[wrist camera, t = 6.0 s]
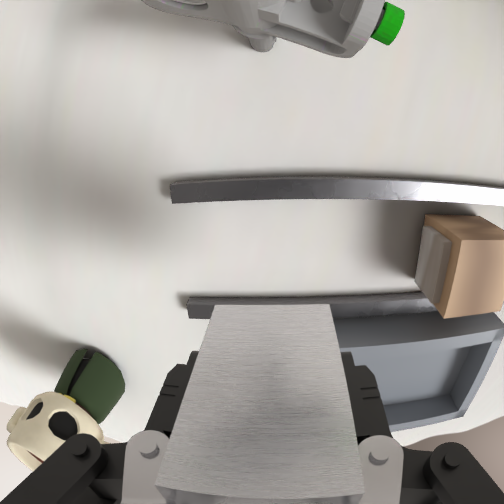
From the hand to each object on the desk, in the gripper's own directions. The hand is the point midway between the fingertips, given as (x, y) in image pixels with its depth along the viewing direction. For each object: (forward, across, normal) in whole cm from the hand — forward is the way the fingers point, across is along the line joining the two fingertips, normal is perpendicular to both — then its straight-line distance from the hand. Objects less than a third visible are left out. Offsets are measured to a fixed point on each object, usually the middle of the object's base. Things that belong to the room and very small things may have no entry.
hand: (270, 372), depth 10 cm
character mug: (+11, +17, +12) cm, 24 cm away
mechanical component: (+11, 0, -14) cm, 18 cm away
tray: (+11, -10, +11) cm, 18 cm away
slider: (+11, -13, 0) cm, 17 cm away
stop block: (+1, 0, 0) cm, 1 cm away
